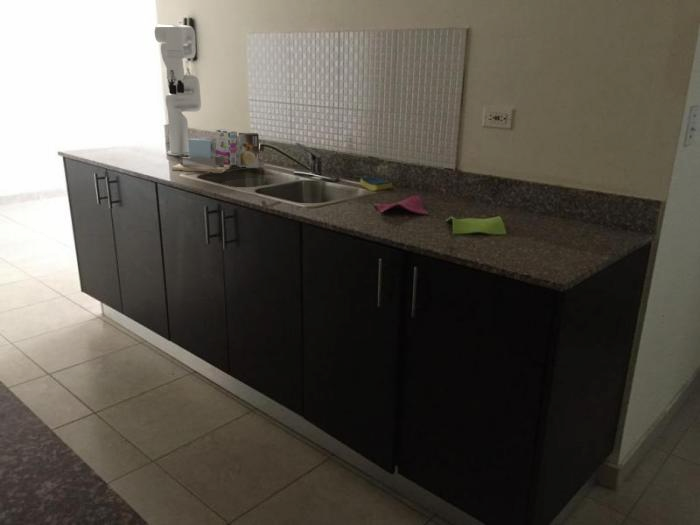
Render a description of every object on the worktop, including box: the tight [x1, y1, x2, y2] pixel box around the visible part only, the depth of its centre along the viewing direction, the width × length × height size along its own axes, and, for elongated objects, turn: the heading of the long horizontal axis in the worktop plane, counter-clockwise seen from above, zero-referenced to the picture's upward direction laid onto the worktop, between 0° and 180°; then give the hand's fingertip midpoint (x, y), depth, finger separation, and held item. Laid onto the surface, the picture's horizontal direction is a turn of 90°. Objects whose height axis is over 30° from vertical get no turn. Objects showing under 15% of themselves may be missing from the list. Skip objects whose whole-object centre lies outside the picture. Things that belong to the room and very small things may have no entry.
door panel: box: [188, 138, 215, 159], centre depth 273 cm, size 4×11×12 cm, turn 84°
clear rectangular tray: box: [171, 153, 232, 174], centre depth 274 cm, size 15×23×6 cm, turn 84°
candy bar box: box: [215, 129, 238, 167], centre depth 287 cm, size 11×5×16 cm, turn 47°
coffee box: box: [238, 132, 260, 169], centre depth 284 cm, size 9×6×16 cm
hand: (176, 93), depth 276 cm, fingers open, 9 cm apart
